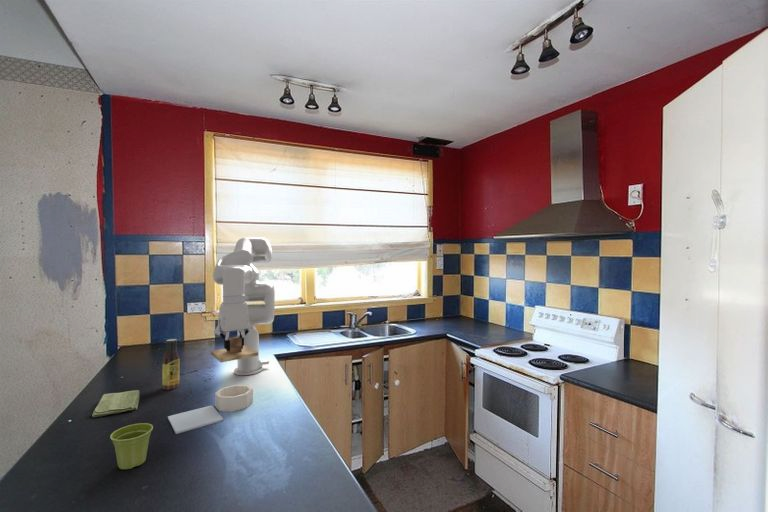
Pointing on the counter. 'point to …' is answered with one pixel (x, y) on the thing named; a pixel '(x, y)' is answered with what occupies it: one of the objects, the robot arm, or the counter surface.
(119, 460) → the plant pot
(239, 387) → the bowl
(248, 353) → the lid
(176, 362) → the sauce bottle
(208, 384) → the counter surface
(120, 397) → the washcloth
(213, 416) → the mat
